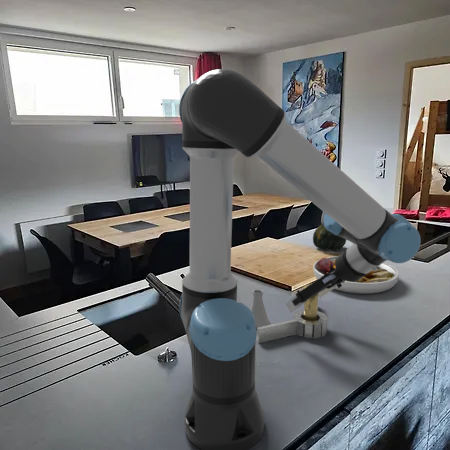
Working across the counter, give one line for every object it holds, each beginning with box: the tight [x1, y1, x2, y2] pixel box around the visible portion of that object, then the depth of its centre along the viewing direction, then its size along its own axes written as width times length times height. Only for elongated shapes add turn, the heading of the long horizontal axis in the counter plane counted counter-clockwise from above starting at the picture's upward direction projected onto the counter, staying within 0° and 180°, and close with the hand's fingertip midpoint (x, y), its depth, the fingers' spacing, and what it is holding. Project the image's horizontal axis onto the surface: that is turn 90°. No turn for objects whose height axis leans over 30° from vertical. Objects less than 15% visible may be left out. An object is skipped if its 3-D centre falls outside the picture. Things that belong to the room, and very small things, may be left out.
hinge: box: [256, 309, 329, 344], centre depth 115 cm, size 27×18×4 cm, turn 163°
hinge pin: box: [302, 283, 319, 321], centre depth 110 cm, size 4×4×13 cm
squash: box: [312, 223, 347, 251], centre depth 186 cm, size 14×15×15 cm
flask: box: [249, 288, 271, 329], centre depth 115 cm, size 7×7×10 cm
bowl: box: [312, 255, 400, 295], centre depth 147 cm, size 30×30×8 cm
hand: (304, 300), depth 112 cm, fingers open, 13 cm apart
